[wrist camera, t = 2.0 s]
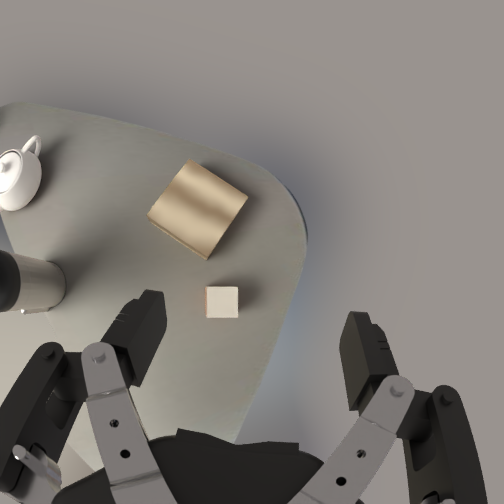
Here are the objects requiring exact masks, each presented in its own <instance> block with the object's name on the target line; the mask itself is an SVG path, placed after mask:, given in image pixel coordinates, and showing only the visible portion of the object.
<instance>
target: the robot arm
mask: <svg viewBox="0 0 504 504" xmlns="http://www.w3.org/2000/svg"><path fill="white" fill-rule="evenodd" d="M65 289H66V283H65V277H64V274H63V272H62V271H61V269H60V268H59V267H58V266H57V265H56V264H54V263H52V262H48V261H43V260H39V259H34V258H30V257H26V256H22V255H18V254H14V253H10V252H5V251H2V250H0V312H7V311H17V310H20V311H21V312H22V313H23V314H31V313H39V312H47V311H48V310H49V308H51V307H54V306H56V305H57V304H59V303H60V302H61V300H62V298H63V296H64V294H65ZM166 327H167V316H166V308H165V300H164V294H163V292H160V291H154V290H147V289H146V290H145V291H144V292H143V294H142V295H141V296H140V298H139V299H133V300H131V301H130V302H128V303H127V304H126V305H125V306H124V307H123V308H122V310H121V311H120V314H118V316H117V317H116V319H115V320H114V321H113V323H112V324H111V326H110V327H109V329H108V330H107V332H106V333H105V335H104V336H103V338H102V339H101V341H100V342H97V343H93V344H90V345H89V346H87V347H86V348H85V349H84V350H83V352H64V349H63V347H62V346H61V345H60V344H59V343H56V342H48V343H45V344H43V345H41V346H40V347H39V348H38V349H37V350H36V352H35V353H34V354H33V356H32V357H31V359H30V360H29V362H28V363H27V365H26V366H25V368H24V369H23V371H22V373H21V374H20V375H19V377H18V379H17V380H16V382H15V383H14V385H13V387H12V388H11V390H10V392H9V393H8V395H7V397H6V398H5V400H4V402H3V403H2V405H1V407H0V492H2V493H4V494H5V495H7V496H9V497H10V498H12V499H14V500H16V501H17V502H19V503H21V504H364V503H363V502H362V501H361V500H360V499H359V497H360V496H361V494H362V493H363V492H364V490H365V489H366V487H367V485H368V484H369V483H370V481H371V480H372V478H373V477H374V475H375V474H376V472H377V470H378V469H379V467H380V466H381V464H382V462H383V461H384V459H385V457H386V455H387V454H388V452H389V450H390V449H391V447H392V445H393V443H394V441H395V439H396V438H401V439H402V440H403V447H404V454H405V461H406V469H407V478H408V487H409V498H410V504H488V502H487V496H486V491H485V485H484V480H483V475H482V470H481V466H480V462H479V457H478V453H477V450H476V446H475V442H474V439H473V435H472V432H471V428H470V425H469V422H468V419H467V416H466V413H465V409H464V407H463V404H462V401H461V398H460V396H459V394H458V392H457V391H456V390H455V389H454V388H452V387H450V386H447V385H441V386H438V387H436V388H435V390H434V391H433V392H432V393H429V392H424V391H419V390H415V389H414V387H413V385H412V383H411V382H410V381H409V380H408V379H406V378H404V377H402V376H399V373H398V370H397V367H396V364H395V361H394V358H393V355H392V352H391V350H390V347H389V344H388V343H387V338H386V336H385V333H384V331H383V330H382V329H381V328H380V327H379V326H378V325H377V324H372V323H371V320H370V318H369V315H368V313H367V312H353V311H351V312H350V313H349V315H348V317H347V320H346V323H345V326H344V330H343V332H342V335H341V339H340V347H339V349H340V355H341V362H342V366H343V372H344V379H345V385H346V391H347V398H348V403H349V411H355V410H358V411H359V419H358V420H357V421H356V423H355V424H354V426H353V427H352V428H351V430H350V431H349V433H348V434H347V435H346V437H345V438H344V439H343V441H342V442H341V443H340V445H339V446H338V447H337V448H336V450H335V451H334V452H333V453H332V455H331V456H330V457H329V458H328V460H327V461H326V462H325V463H324V462H323V461H321V460H320V459H318V458H317V457H315V456H313V455H311V454H309V453H305V452H303V451H299V443H286V442H269V441H268V442H261V443H253V444H243V445H235V444H232V443H229V442H227V441H224V440H221V439H219V438H216V437H214V436H211V435H209V434H205V433H199V432H194V431H189V430H184V429H179V428H178V430H177V433H176V435H171V436H164V437H159V438H156V439H153V440H149V438H148V435H147V433H146V431H145V429H144V427H143V424H142V422H141V419H140V417H139V414H138V412H137V409H136V407H135V404H134V402H133V399H132V396H131V393H130V391H129V388H130V386H131V385H133V386H137V387H140V386H141V384H142V381H143V379H144V377H145V375H146V373H147V370H148V368H149V366H150V364H151V362H152V359H153V357H154V355H155V353H156V351H157V348H158V346H159V344H160V342H161V340H162V338H163V336H164V334H165V331H166ZM52 391H53V392H52ZM51 393H52V394H51ZM83 402H86V404H87V408H88V413H89V417H90V421H91V424H92V428H93V432H94V435H95V439H96V442H97V446H98V449H99V452H100V455H101V458H102V461H103V464H104V467H103V468H102V469H100V470H98V471H96V472H94V473H92V474H91V475H89V476H87V477H85V478H83V479H81V480H79V481H77V482H75V483H73V484H71V485H69V486H67V487H65V488H63V489H62V490H61V486H60V485H61V484H62V481H61V471H60V468H59V466H58V465H57V463H58V460H59V458H60V455H61V452H62V450H63V448H64V445H65V443H66V440H67V438H68V436H69V433H70V431H71V429H72V426H73V424H74V422H75V419H76V417H77V415H78V413H79V410H80V408H81V406H82V404H83Z"/></svg>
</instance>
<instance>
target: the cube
mask: <svg viewBox="0 0 504 504" xmlns="http://www.w3.org/2000/svg"><path fill="white" fill-rule="evenodd" d="M205 314H206V316H207V318H238V287H205Z"/></svg>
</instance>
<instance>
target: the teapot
mask: <svg viewBox="0 0 504 504" xmlns="http://www.w3.org/2000/svg"><path fill="white" fill-rule="evenodd" d="M35 141H36V142H37V144H36V150H35V153H34V154H33V153H32V152H30V151H27V150H28V149H29V147H30V146H31V145H32V144H33V143H34V142H35ZM40 149H41V138H40V137H39V136H38V135H35V136H33V137H32V138H31V139H30V140H29V141H28V142H27V143H26V144H25V146H24V147H23V148H22V149H11V150H8V151H6V152H4V153H3V154H2V155H1V156H0V212H1V211H3V209H5V210H8V211H15V210H18V209H21V208H23V207H24V206H25V205H27V204H28V203H29V202H30V201H31V199H32V198H33V197H34V195H35V194H36V192H37V190H38V187H39V185H40V181H41V175H42V169H41V164H40V161H39V159H38V155H39V152H40Z"/></svg>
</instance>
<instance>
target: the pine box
mask: <svg viewBox="0 0 504 504" xmlns="http://www.w3.org/2000/svg"><path fill="white" fill-rule="evenodd" d="M247 198H248V196H246V195H245V194H243V193H242V192H240V191H239V190H237V189H236V188H234V187H233V186H231V185H230V184H228V183H227V182H225V181H223V180H222V179H220V178H219V177H217V176H216V175H214V174H213V173H211V172H210V171H208V170H206V169H205V168H203V167H202V166H200V165H199V164H197V163H195V162H194V161H192V160H191V159H189V160H188V161H187V163H186V164H185V165H184V166H183V167H182V169H181V170H180V171H179V173H178V174H177V175H176V176H175V178H174V179H173V180H172V181H171V183H170V184H169V185H168V187H167V188H166V189H165V191H164V192H163V193H162V195H161V196H160V197H159V199H158V200H157V201H156V203H155V204H154V205H153V207H152V208H151V210H150V211H149V212H148V214H147V215H146V216H147V217H148V219H149V221H150V222H151V223H152V224H153V225H155V226H156V227H158V228H159V229H161V230H162V231H163V232H165V233H166V234H168V235H169V236H171V237H172V238H174V239H175V240H177V241H178V242H180V243H181V244H183V245H184V246H186V247H187V248H189V249H190V250H191V251H193V252H194V253H196V254H197V255H199V256H200V257H202V258H203V259H205V260H207V259H208V257H209V256H210V254H211V253H212V251H213V250H214V248H215V247H216V245H217V244H218V242H219V241H220V239H221V238H222V236H223V235H224V233H225V232H226V230H227V229H228V227H229V226H230V224H231V223H232V221H233V220H234V218H235V217H236V215H237V214H238V212H239V211H240V210H241V208H242V207H243V205H244V203H245V202H246V200H247Z"/></svg>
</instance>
